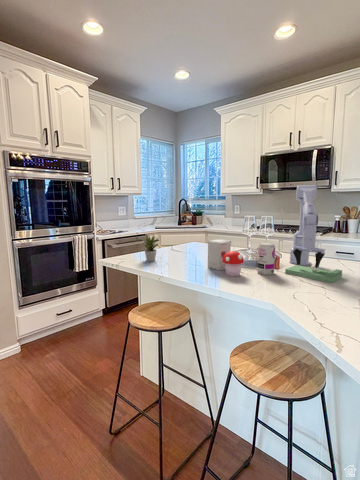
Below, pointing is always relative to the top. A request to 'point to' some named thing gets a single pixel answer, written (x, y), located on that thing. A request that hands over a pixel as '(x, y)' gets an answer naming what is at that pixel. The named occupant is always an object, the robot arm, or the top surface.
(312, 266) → the ball
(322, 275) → the green holed board
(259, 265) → the supplement can
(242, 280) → the top surface
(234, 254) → the mushroom
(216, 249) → the supplement box
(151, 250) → the house plant
